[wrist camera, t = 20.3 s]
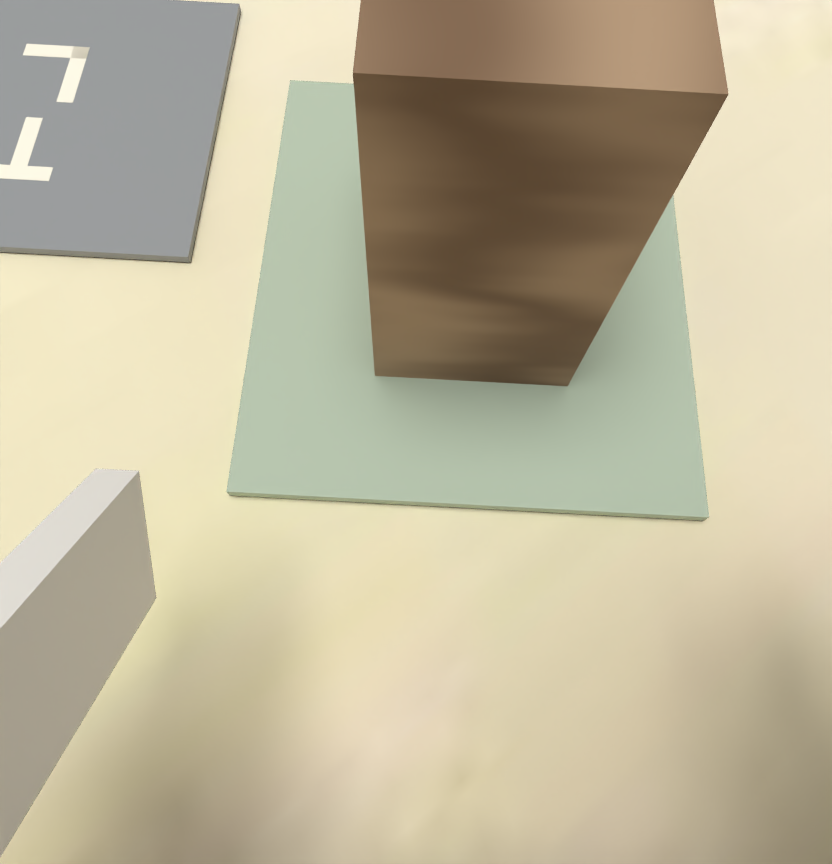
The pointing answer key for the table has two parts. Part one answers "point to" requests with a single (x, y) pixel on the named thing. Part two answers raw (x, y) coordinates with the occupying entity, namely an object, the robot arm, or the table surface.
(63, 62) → the gray tile
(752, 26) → the table surface
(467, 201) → the walnut block
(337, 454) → the rubber mat
